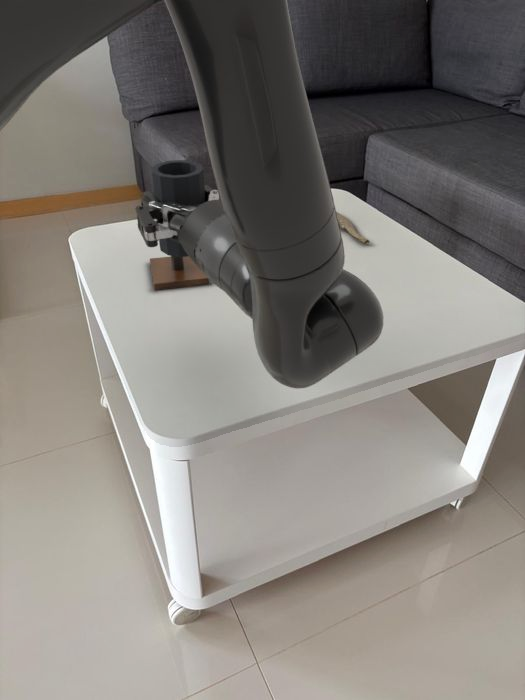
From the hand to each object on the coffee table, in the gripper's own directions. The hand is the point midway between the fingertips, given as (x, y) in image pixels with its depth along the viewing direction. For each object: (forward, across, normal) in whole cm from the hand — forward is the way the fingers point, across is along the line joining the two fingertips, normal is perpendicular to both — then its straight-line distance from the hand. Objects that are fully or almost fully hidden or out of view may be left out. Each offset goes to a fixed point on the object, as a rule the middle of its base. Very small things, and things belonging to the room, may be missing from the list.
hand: (172, 194), depth 68 cm
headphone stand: (+17, -6, +21) cm, 27 cm away
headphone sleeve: (-2, 0, +6) cm, 6 cm away
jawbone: (+20, -38, +21) cm, 48 cm away
